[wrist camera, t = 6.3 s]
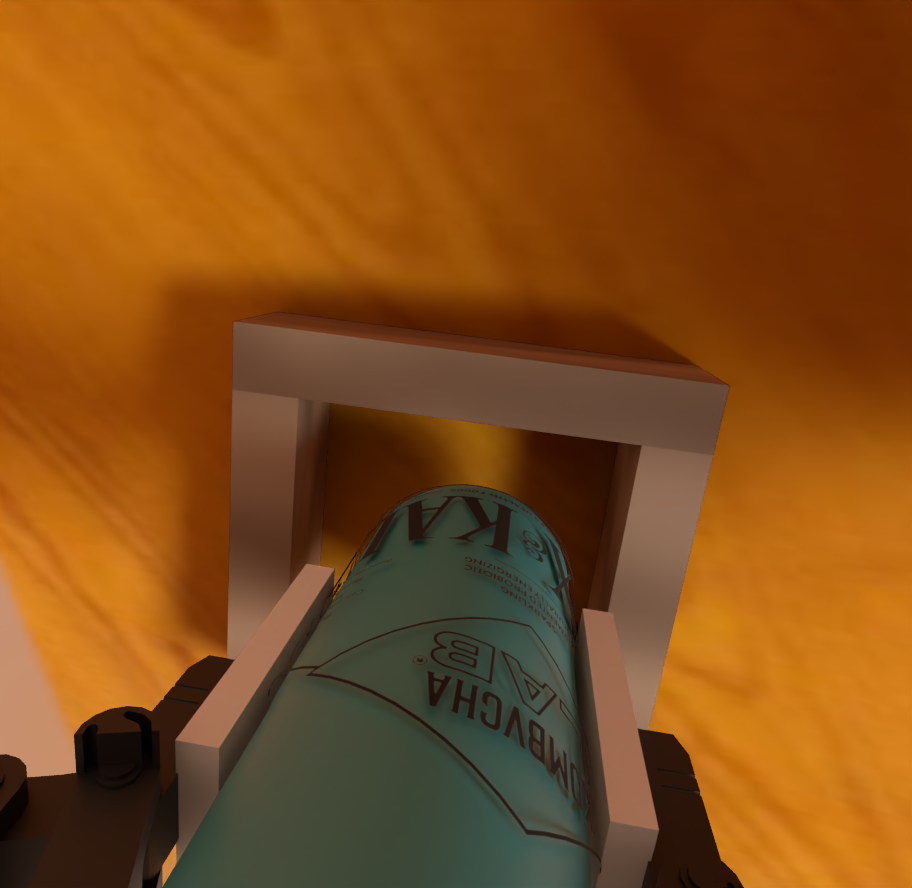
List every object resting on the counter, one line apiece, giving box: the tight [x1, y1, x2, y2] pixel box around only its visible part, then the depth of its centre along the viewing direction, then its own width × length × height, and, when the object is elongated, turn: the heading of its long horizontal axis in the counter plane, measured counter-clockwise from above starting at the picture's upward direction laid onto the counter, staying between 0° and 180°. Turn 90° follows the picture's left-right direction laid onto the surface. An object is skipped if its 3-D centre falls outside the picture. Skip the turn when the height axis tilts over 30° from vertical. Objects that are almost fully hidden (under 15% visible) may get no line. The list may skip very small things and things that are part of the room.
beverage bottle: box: [162, 484, 601, 888], centre depth 12 cm, size 6×7×20 cm
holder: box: [227, 312, 730, 730], centre depth 22 cm, size 14×14×4 cm
